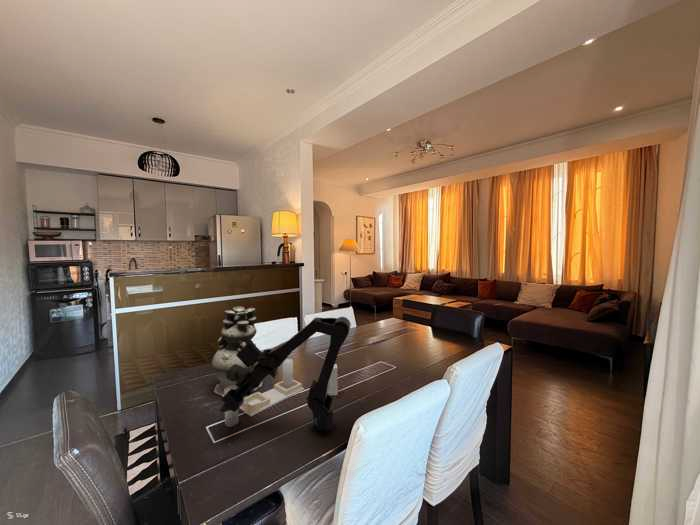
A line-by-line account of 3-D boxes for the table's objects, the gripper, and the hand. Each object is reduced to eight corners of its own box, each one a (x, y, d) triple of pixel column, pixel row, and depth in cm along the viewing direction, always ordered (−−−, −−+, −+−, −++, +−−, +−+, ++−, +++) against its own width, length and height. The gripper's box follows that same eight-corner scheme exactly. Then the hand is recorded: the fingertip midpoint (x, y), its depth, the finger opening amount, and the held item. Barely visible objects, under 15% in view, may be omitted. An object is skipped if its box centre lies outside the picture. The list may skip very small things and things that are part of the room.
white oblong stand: (303, 389, 123) (303, 360, 122) (250, 416, 104) (250, 382, 103) (289, 382, 129) (289, 354, 129) (237, 406, 110) (236, 373, 109)
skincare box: (337, 390, 123) (337, 363, 122) (338, 395, 118) (338, 367, 117) (323, 391, 122) (323, 363, 121) (323, 396, 118) (323, 368, 117)
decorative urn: (272, 383, 130) (273, 308, 128) (232, 404, 112) (233, 316, 110) (241, 371, 141) (242, 302, 139) (200, 389, 122) (201, 309, 121)
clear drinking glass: (240, 422, 100) (240, 388, 100) (228, 428, 97) (227, 393, 96) (234, 417, 103) (233, 384, 102) (222, 423, 100) (221, 388, 99)
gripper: (252, 348, 108) (225, 375, 109) (227, 370, 89) (195, 402, 91) (273, 370, 107) (245, 396, 109) (251, 396, 89) (219, 427, 91)
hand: (227, 404), depth 100 cm, fingers open, 8 cm apart
